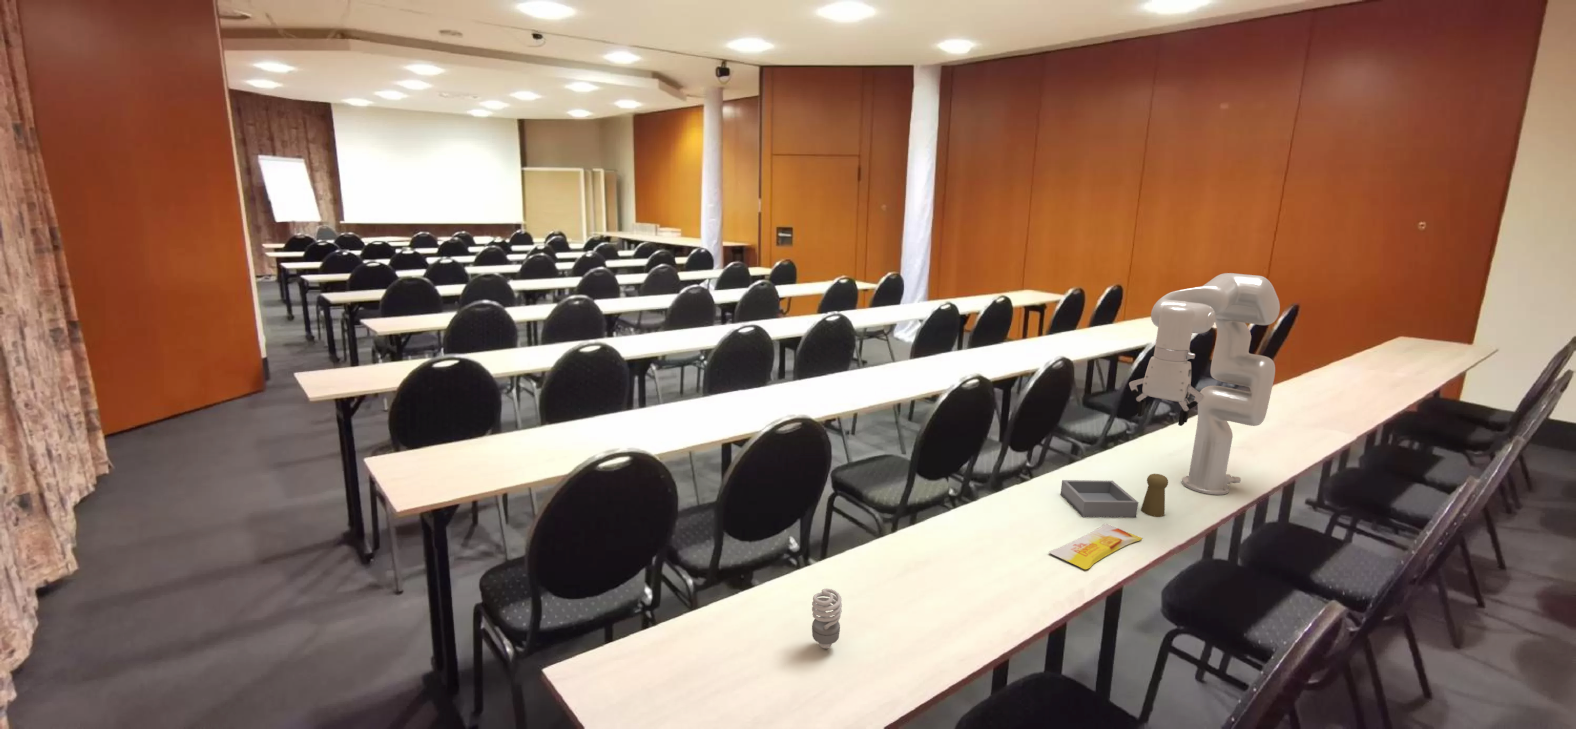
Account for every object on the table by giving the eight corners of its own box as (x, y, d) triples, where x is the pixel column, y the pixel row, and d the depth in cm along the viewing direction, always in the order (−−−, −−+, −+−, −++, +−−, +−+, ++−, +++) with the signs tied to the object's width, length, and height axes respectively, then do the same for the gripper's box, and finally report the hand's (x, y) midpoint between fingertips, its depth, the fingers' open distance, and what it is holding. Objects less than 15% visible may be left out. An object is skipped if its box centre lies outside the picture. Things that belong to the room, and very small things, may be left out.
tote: (1110, 494, 211) (1112, 480, 210) (1136, 517, 196) (1138, 502, 195) (1060, 494, 210) (1062, 480, 209) (1082, 517, 196) (1084, 501, 195)
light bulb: (808, 639, 140) (810, 584, 137) (837, 638, 140) (839, 583, 137) (812, 657, 134) (814, 600, 131) (841, 656, 135) (844, 599, 132)
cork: (1167, 518, 197) (1173, 480, 194) (1144, 515, 198) (1149, 478, 195) (1161, 508, 202) (1166, 472, 200) (1138, 506, 203) (1143, 470, 201)
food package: (1086, 565, 167) (1048, 548, 175) (1085, 574, 167) (1047, 556, 175) (1144, 534, 183) (1106, 519, 191) (1142, 542, 184) (1105, 527, 191)
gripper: (1213, 358, 175) (1202, 425, 179) (1139, 347, 187) (1130, 409, 191) (1205, 363, 170) (1194, 431, 174) (1129, 351, 181) (1120, 415, 185)
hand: (1160, 420), depth 182 cm, fingers open, 9 cm apart
